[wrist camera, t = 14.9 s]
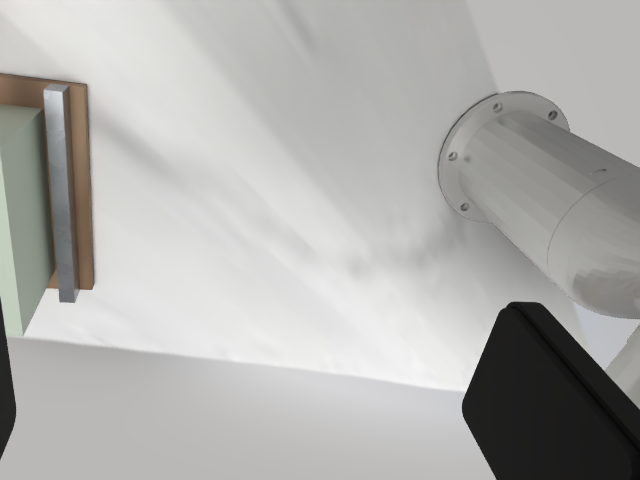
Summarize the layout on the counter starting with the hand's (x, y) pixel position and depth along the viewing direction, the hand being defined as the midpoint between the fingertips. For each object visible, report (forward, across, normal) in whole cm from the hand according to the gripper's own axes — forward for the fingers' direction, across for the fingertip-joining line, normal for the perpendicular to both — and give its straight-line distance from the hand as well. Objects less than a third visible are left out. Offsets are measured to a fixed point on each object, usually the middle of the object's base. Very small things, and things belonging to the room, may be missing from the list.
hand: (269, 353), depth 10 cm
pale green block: (+33, +15, +13) cm, 39 cm away
